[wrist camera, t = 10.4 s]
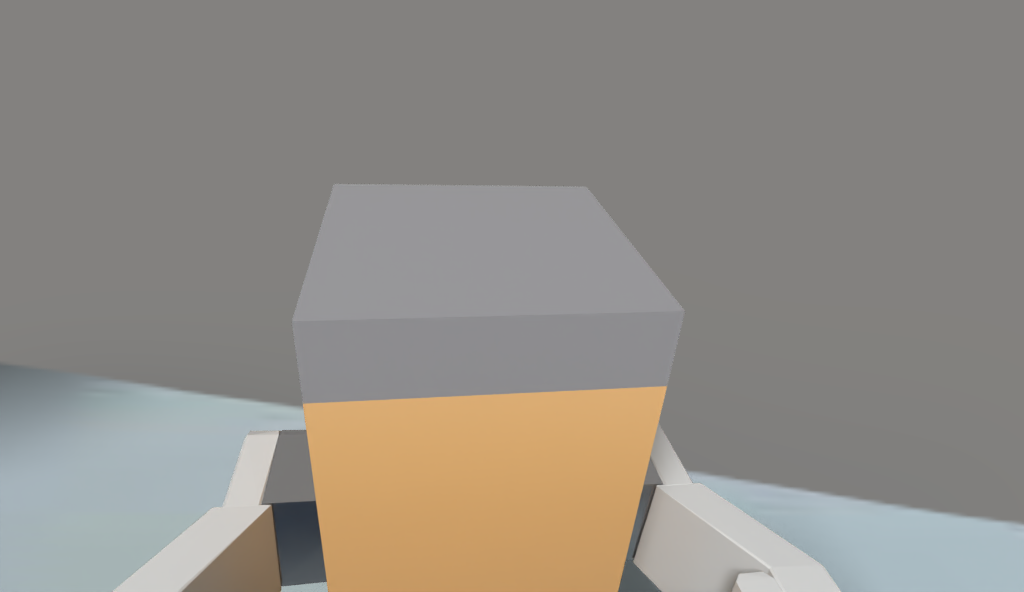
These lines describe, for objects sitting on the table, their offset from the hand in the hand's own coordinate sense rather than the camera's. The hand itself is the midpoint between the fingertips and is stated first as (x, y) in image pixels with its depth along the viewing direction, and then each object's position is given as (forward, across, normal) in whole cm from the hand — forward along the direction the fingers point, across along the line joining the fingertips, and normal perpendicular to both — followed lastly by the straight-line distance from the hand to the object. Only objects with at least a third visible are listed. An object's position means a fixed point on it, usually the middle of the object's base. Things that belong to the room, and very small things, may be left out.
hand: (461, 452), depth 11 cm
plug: (-1, 0, -9) cm, 9 cm away
